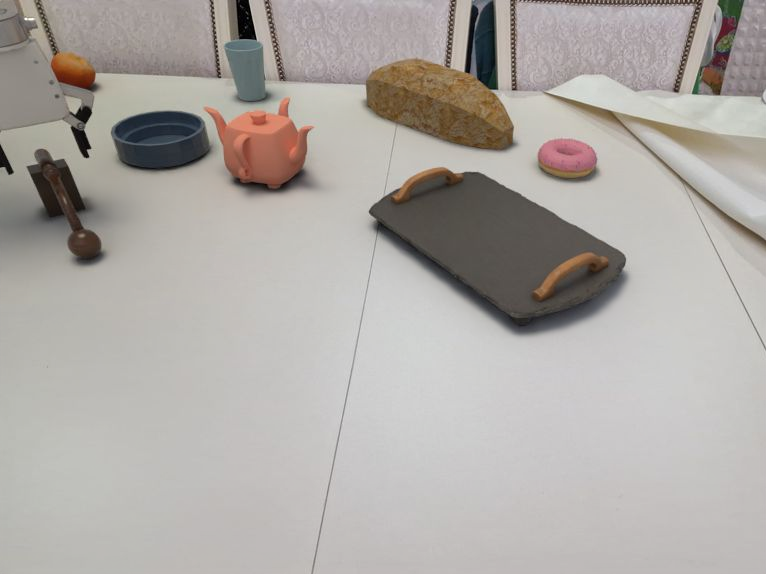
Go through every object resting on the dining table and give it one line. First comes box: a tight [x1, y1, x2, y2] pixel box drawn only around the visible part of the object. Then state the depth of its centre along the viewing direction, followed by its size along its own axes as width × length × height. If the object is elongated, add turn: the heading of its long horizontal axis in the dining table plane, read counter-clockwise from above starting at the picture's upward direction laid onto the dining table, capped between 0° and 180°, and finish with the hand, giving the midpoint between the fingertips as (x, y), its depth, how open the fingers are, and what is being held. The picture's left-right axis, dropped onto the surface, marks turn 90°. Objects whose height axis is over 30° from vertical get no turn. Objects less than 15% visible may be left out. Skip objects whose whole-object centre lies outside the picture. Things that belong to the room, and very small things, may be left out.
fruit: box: [50, 52, 96, 90], centre depth 129 cm, size 8×8×8 cm
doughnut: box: [536, 137, 598, 179], centre depth 112 cm, size 11×11×4 cm
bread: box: [365, 57, 515, 151], centre depth 124 cm, size 36×11×10 cm, turn 53°
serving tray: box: [368, 166, 627, 327], centre depth 90 cm, size 39×23×6 cm, turn 41°
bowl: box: [110, 109, 211, 169], centre depth 109 cm, size 15×15×4 cm
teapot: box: [203, 97, 315, 189], centre depth 102 cm, size 14×14×11 cm
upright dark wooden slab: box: [25, 158, 86, 218], centre depth 92 cm, size 3×5×7 cm, turn 127°
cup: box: [223, 38, 267, 102], centre depth 129 cm, size 8×8×10 cm
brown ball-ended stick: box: [33, 148, 103, 260], centre depth 87 cm, size 20×4×9 cm, turn 37°
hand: (48, 162), depth 88 cm, fingers open, 9 cm apart
